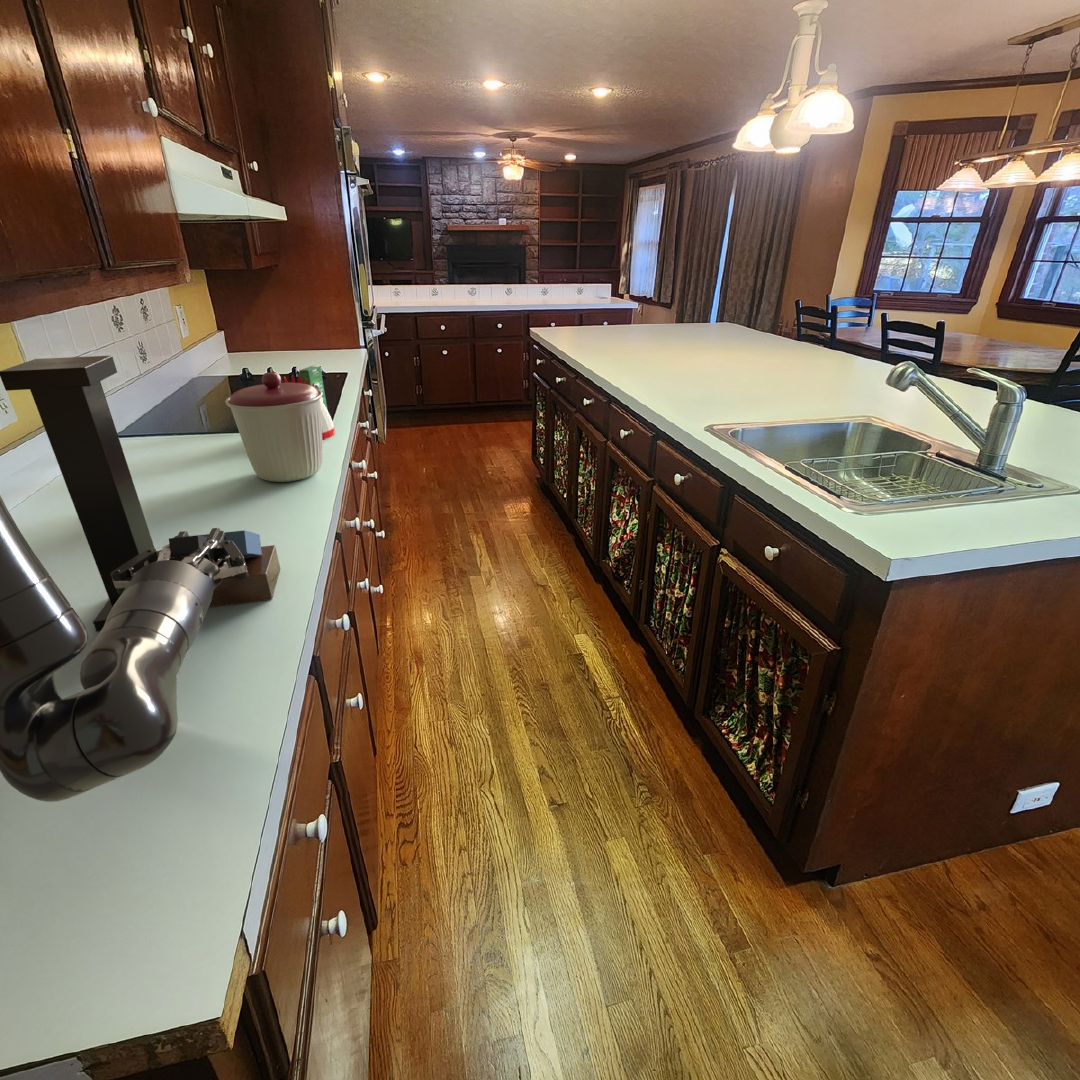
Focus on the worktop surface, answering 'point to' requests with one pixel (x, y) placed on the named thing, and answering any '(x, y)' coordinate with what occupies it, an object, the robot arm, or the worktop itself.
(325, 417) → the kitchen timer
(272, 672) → the worktop surface
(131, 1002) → the worktop surface
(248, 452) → the canister
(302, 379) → the coffee box
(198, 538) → the back pad
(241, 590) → the brown wooden block
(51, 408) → the stand
